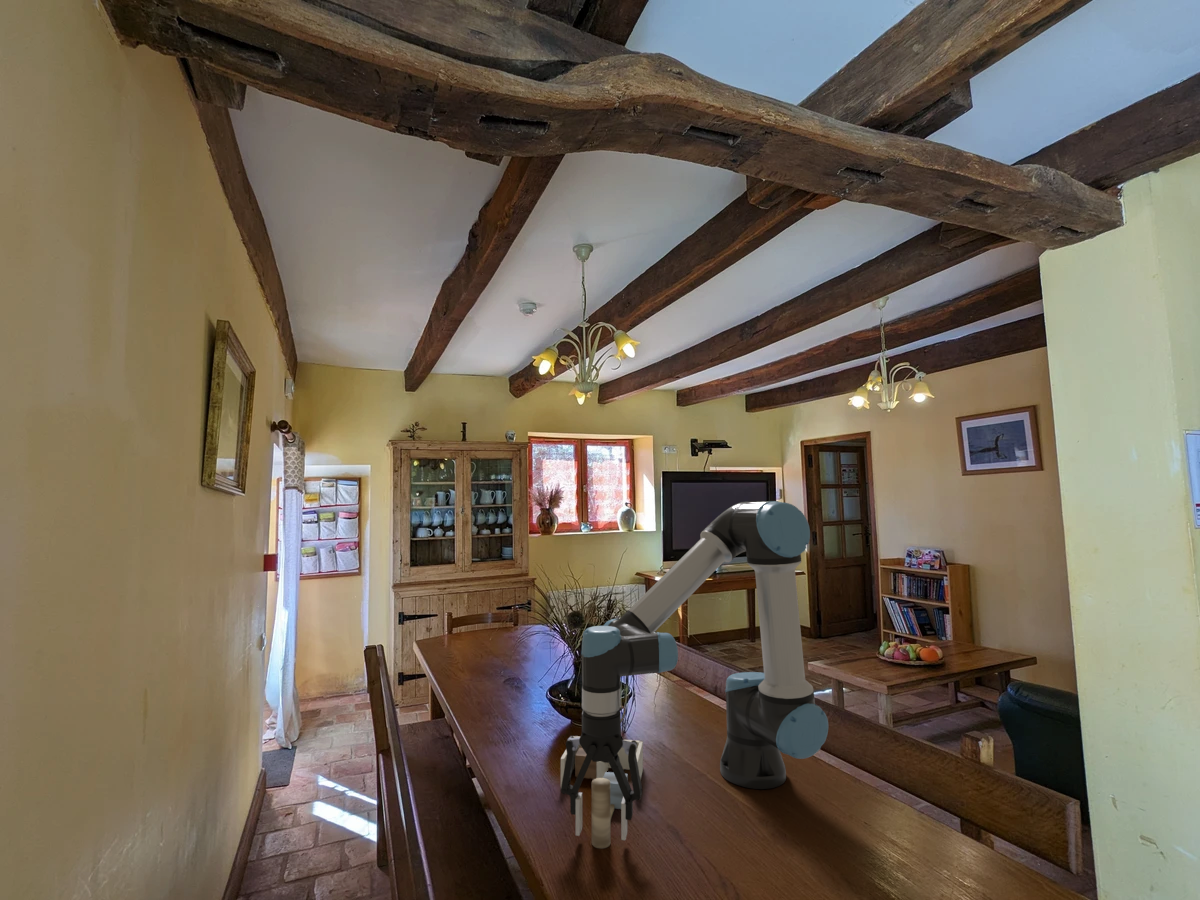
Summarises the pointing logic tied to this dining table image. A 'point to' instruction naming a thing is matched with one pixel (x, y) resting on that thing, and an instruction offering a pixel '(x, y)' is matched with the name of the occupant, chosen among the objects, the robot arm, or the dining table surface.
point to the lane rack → (604, 767)
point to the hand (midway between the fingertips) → (601, 833)
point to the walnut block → (579, 762)
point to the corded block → (604, 807)
